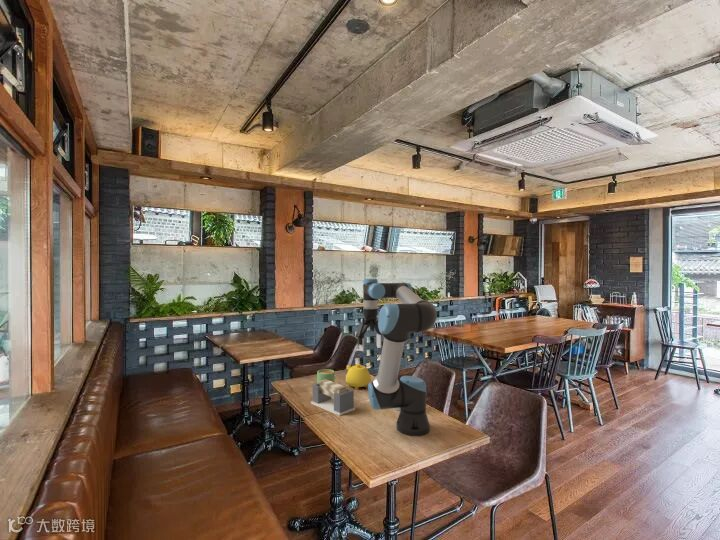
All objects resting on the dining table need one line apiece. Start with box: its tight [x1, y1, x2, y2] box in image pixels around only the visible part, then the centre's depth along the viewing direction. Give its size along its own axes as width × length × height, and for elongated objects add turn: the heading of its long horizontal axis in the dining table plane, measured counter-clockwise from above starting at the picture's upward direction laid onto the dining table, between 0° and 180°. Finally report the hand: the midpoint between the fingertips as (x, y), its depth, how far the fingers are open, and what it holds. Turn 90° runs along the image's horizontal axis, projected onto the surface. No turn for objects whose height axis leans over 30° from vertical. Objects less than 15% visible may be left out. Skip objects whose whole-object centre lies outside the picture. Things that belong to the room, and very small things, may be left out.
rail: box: [319, 379, 347, 399], centre depth 199 cm, size 17×4×6 cm, turn 42°
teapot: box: [345, 363, 372, 391], centre depth 234 cm, size 20×16×14 cm
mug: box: [316, 368, 335, 384], centre depth 223 cm, size 13×10×12 cm
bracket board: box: [310, 383, 356, 417], centre depth 199 cm, size 23×11×10 cm, turn 45°
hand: (370, 348), depth 197 cm, fingers open, 13 cm apart
